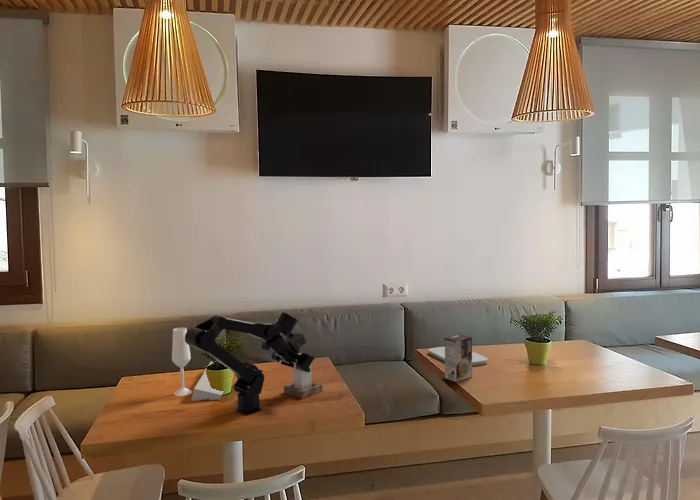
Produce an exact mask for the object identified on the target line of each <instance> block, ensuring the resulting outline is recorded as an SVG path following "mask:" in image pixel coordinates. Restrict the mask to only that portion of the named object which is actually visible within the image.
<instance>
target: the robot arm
mask: <svg viewBox="0 0 700 500" xmlns="http://www.w3.org/2000/svg"><path fill="white" fill-rule="evenodd" d="M298 323H299V321H298V319H297V318H295V317H293V316H292V315H290V314H288V313H287V312H285V311H284V312H282V313H281V314H280V316H279V318H278V319H277V321H276V322H275V323H269V322H265V321H259V320H258V321H257V320H256V321H255V320H254V321H245V320H244V321H243V320H239V319H235V318H229V317H225V316H223V315H217V314H215V315H212V317H210V318H208V319H207V320H205V321H203V322H200V323H199V324H197V325H196V326H194V327H191V328H189V329H188V330H187V332H186V334H185V342H186V343H187V344H188V345H189V347H192V348H195V349H197V350H200V351H202V352H204V353H206V354H208V355H209V356H210V357H212V358H213V359H215V360H216V362H219V363H221V364H223V365H224V366H225V367H227V368H228V369H229V370H231V371H232V374H234V375H235V376H236V379H237V380H236V382H235V383H234V384H233V390H234V392H236V393H237V408H235V411H236V412H238V413H240V414H243V415H246V416H247V415H251V414H253V413H256V412H259V411H261V410H262V408H263V407H260V395H261V394H262V389H263V386H264V383H265V374H264V373H263V370H262V369H259V368H258V366H257V365H255V364H252V363H250V362H246V361H244V362H243V363H242V362H241V361H240V360H238V358H237V357H235V356H234V355H232V354H231V353H230V352H228V351H227V350H226V349H224V348H223V347H222V346H220V345H219V344H218V342H217V340H216V339H217V338H218V336H219V335H220V334H221V332H223V330H228V331H233V332H239V333H243V334H248V335H250V336H251V337H255V338H256V339H260V340H264V341H261V350H264V351H267V352H268V351H269V350H272V351H273V352H272V354H271V360H272V361H273V362H274V363H277V364H279V363H280V364H281V365H283V366H287V367H290V368H293V369H294V363H296V368H295V369H298V370H301V371H305V372H308V373H309V372H310V371H311V372H312V369H311V370H310V367H309V366H310V365H311V366H312V363H313V361H314V359H315V356H314V354H312V353H310V352H307V351H303V352H301V354H300V351H301V347H303V346H304V345H306V343H307V339H306V337H305V335H304V334H303V333H301V332H300V333H299V332H294V333H293V330H294V329H295V327H296V326H297V324H298ZM285 338H286V339H285ZM296 361H297V362H296Z"/></svg>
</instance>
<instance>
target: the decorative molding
mask: <svg viewBox="0 0 700 500" xmlns="http://www.w3.org/2000/svg"><path fill="white" fill-rule="evenodd" d="M212 361H213V360H211V361H210V362H209V364H208V366H209V365H210V364H212V363H213V362H212ZM224 392H225V390H224V391H219V390H216V389H213V388H211V386H210V383H209V381H208V378H207V375H206V369H205V370H204V372H203V373H202V376H201V377H200V379H199V380H198V382H197V384H196V385H195V387H194V388H193V391H192V396H191V402H196V401H197V402H199V401H202V400H205V401H207V400H209V401H215V400H217V401H218V400H219V401H220V400H221V398H222V396H223V393H224Z"/></svg>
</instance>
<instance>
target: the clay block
mask: <svg viewBox="0 0 700 500" xmlns="http://www.w3.org/2000/svg"><path fill="white" fill-rule="evenodd" d="M301 353H302V352H301ZM301 353H300V352H299V354H301ZM296 362H297V361H296ZM309 367H310V370H311V371H310V372H309V373H308V372H305V371H301V370H298V369H295V368H296V363H294V368H293V383H294V388H297V389H300V390H305V389H308V388H310V387H312V382H313V381H312V364H311V365H310V366H309Z"/></svg>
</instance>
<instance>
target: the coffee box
mask: <svg viewBox="0 0 700 500" xmlns="http://www.w3.org/2000/svg"><path fill="white" fill-rule="evenodd" d="M472 339H473V338H472V336H470V335H469V336H468V335H466V334H462V333H459V334H455V335H451V336H447V337H444V346H445V362H444V378H445V379H446V380H449V381H452V382H456V383H458V382H462V381H463V380H467V379H470V378H473V366H472V352H473V342H472V341H473V340H472Z"/></svg>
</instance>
